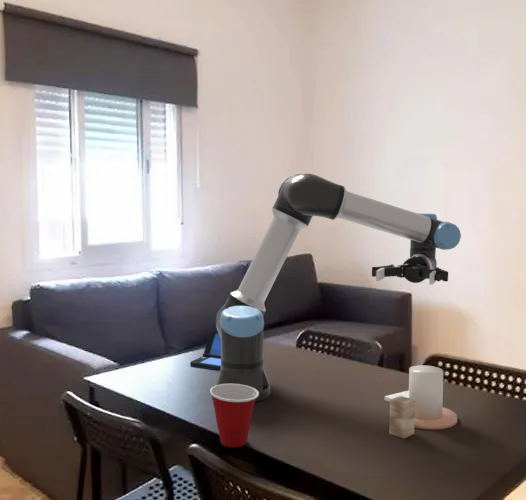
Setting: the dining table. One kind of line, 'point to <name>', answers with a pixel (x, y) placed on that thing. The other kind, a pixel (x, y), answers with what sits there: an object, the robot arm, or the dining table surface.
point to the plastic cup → (233, 412)
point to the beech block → (402, 416)
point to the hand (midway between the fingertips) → (403, 277)
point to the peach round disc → (437, 421)
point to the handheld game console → (210, 353)
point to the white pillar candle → (426, 391)
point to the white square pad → (404, 394)
